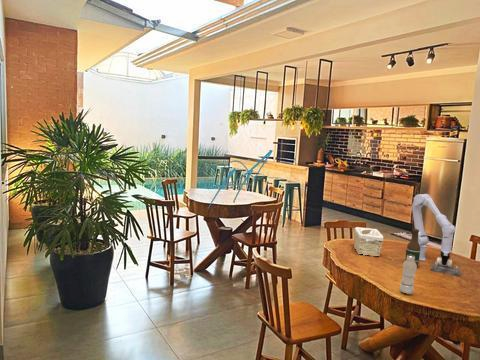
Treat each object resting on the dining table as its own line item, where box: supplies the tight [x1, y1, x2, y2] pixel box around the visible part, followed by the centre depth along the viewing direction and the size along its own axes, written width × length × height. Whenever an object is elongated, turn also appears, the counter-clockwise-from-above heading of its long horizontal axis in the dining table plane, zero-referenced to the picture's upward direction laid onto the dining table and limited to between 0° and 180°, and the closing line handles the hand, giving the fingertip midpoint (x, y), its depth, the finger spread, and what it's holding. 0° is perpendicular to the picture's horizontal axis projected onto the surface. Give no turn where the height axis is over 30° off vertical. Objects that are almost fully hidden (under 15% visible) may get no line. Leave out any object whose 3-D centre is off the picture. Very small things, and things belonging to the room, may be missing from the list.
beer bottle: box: [404, 228, 420, 268], centre depth 229 cm, size 8×8×24 cm
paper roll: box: [436, 257, 453, 267], centre depth 235 cm, size 9×5×5 cm, turn 61°
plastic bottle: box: [399, 255, 417, 295], centre depth 186 cm, size 6×7×20 cm
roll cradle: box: [430, 261, 462, 277], centre depth 226 cm, size 16×10×4 cm, turn 61°
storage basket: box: [353, 226, 384, 257], centre depth 255 cm, size 24×16×15 cm
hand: (443, 263), depth 235 cm, fingers closed on paper roll, 5 cm apart
